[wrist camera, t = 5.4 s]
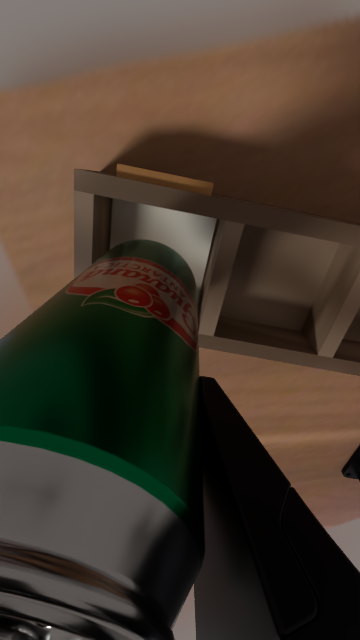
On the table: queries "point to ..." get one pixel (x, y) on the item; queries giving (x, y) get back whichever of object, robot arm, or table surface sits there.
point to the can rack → (236, 263)
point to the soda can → (103, 454)
